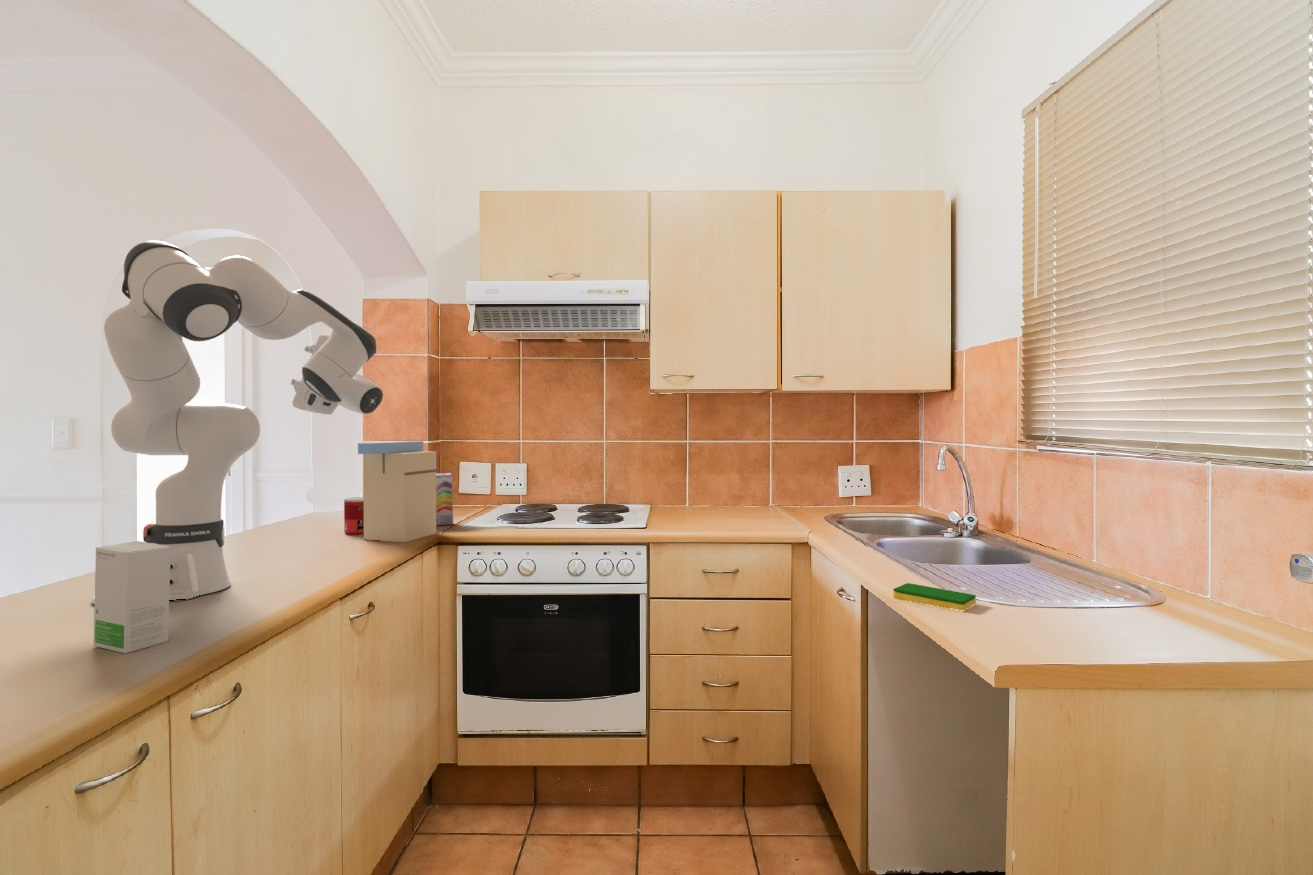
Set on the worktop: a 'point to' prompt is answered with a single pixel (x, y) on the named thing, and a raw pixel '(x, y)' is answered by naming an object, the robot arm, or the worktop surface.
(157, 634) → the skincare box
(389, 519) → the kraft carton
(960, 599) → the dish sponge
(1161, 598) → the worktop surface
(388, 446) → the bar
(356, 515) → the canned food
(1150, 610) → the worktop surface
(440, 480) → the cake pan box
